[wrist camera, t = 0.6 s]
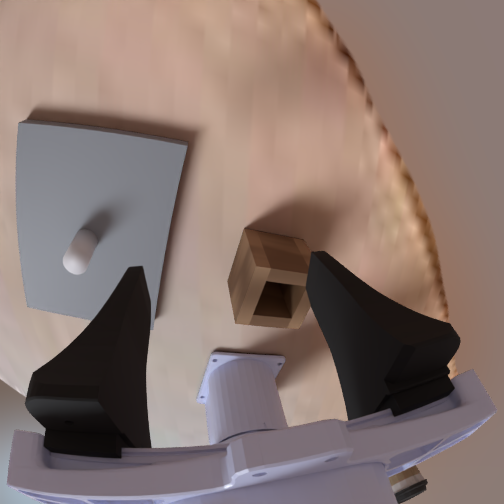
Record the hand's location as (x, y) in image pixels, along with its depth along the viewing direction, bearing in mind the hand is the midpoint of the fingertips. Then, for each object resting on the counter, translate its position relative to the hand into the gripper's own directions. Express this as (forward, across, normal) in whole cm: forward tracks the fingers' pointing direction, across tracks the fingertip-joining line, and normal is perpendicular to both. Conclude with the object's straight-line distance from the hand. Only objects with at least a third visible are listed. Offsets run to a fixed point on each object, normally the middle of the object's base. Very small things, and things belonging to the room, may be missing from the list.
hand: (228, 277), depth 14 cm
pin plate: (+10, +10, +3) cm, 14 cm away
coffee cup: (+6, -40, +70) cm, 81 cm away
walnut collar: (+10, -4, +7) cm, 13 cm away
